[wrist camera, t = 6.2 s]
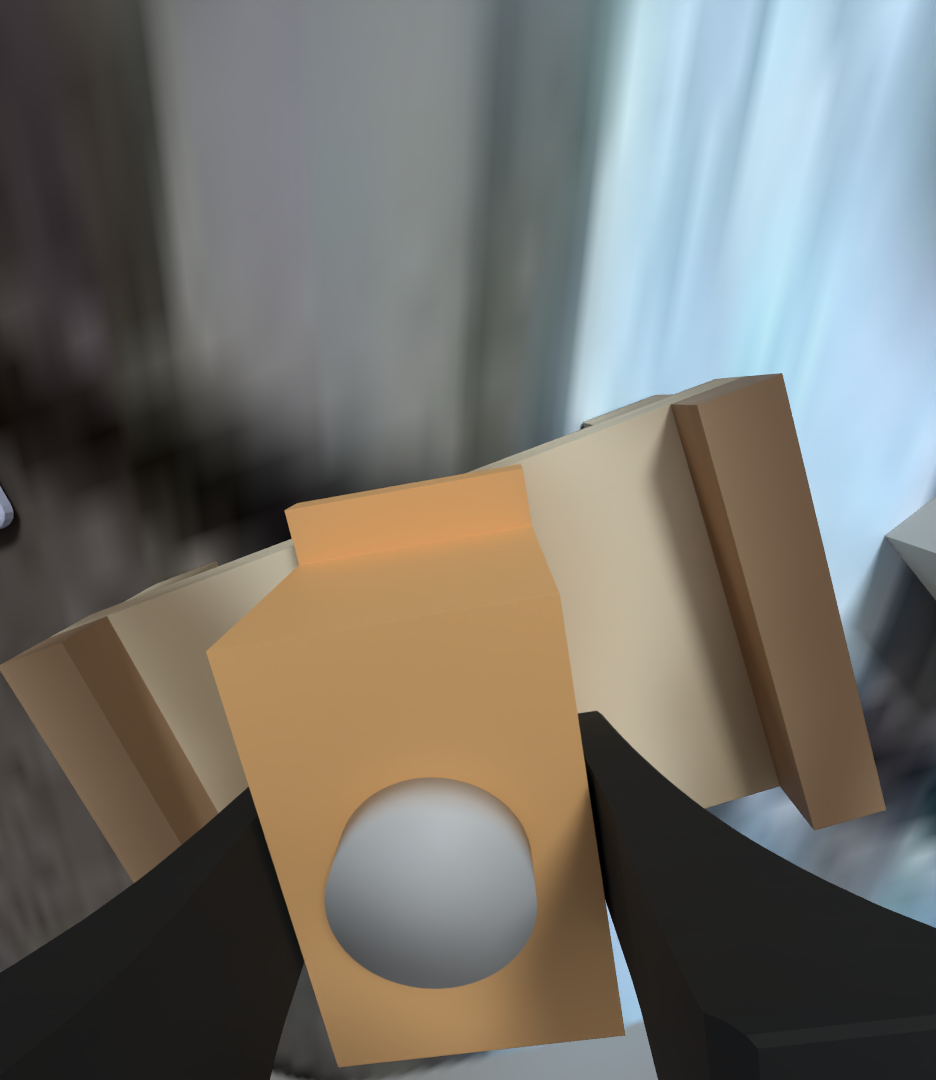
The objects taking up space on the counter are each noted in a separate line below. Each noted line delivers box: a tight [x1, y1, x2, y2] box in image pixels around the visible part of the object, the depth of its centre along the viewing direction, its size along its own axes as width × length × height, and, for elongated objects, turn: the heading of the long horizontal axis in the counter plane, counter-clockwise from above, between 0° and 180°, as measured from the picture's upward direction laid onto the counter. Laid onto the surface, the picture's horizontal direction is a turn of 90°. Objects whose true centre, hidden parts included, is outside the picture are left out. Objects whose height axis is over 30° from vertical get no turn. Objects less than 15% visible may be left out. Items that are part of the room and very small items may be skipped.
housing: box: [206, 464, 625, 1067], centre depth 11 cm, size 5×10×6 cm, turn 10°
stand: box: [0, 373, 886, 883], centre depth 14 cm, size 17×10×4 cm, turn 111°
